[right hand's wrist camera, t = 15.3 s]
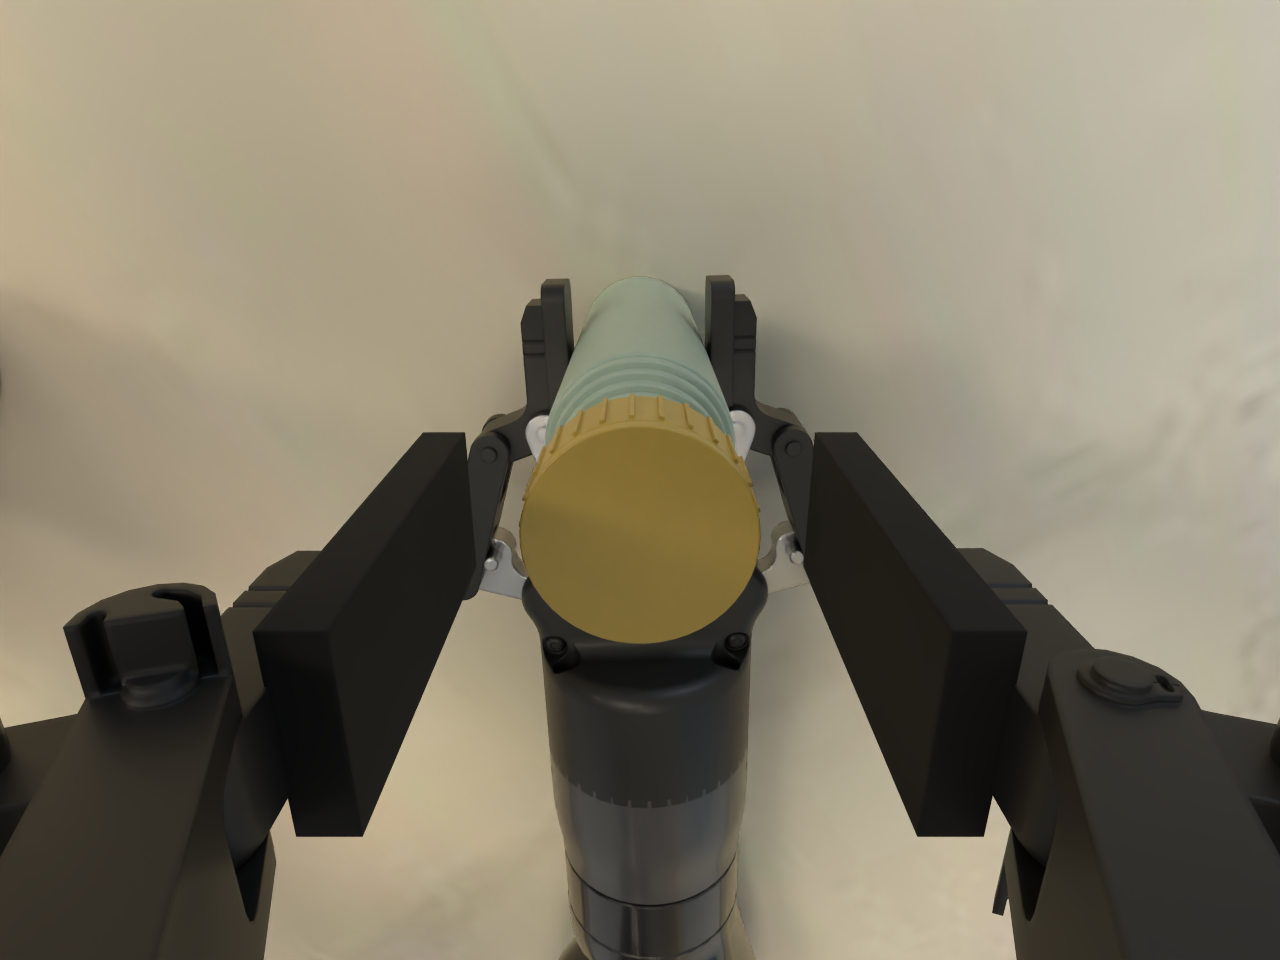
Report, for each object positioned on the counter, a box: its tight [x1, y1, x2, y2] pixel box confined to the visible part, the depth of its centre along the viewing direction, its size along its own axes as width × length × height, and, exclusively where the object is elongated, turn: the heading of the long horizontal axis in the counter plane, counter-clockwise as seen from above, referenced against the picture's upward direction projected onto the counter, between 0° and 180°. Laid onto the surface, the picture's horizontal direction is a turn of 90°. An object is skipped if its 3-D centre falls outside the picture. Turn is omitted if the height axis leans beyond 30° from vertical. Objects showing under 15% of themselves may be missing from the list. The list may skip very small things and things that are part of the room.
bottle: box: [545, 277, 735, 448], centre depth 22 cm, size 4×4×18 cm
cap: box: [519, 393, 761, 644], centre depth 14 cm, size 4×4×2 cm
